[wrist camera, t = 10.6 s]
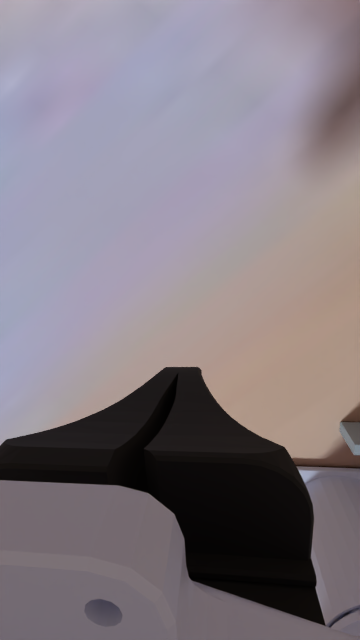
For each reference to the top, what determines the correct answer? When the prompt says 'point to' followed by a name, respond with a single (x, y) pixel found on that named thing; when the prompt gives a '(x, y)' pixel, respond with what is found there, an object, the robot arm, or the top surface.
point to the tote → (351, 435)
